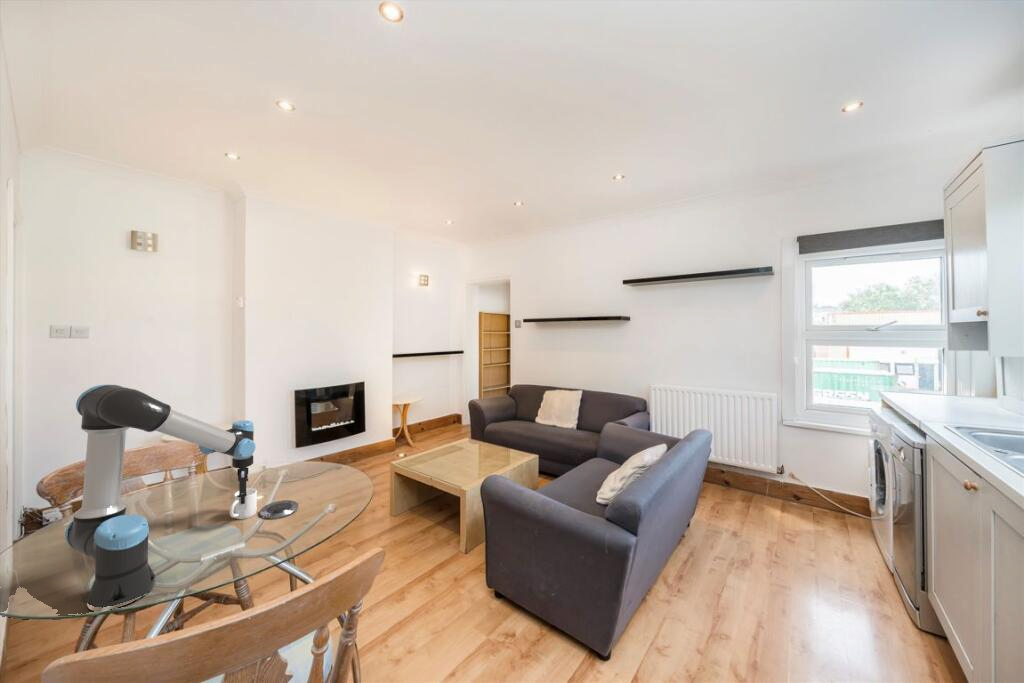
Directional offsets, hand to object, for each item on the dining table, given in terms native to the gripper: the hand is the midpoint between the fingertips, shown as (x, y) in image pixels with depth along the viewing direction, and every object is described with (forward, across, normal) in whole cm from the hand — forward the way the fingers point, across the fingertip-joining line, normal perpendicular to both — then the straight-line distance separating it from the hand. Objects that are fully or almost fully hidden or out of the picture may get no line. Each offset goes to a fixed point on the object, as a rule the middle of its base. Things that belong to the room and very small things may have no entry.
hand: (242, 503), depth 166 cm
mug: (+6, 0, 0) cm, 6 cm away
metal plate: (+6, -2, -14) cm, 15 cm away
